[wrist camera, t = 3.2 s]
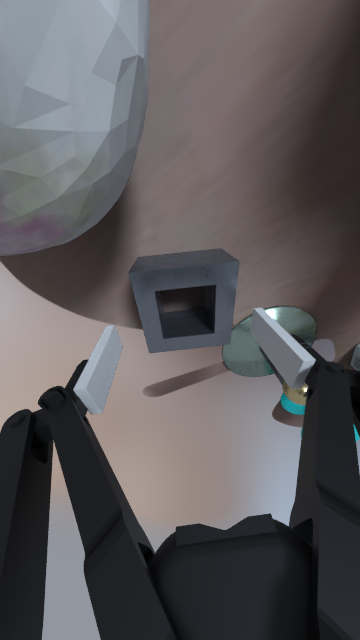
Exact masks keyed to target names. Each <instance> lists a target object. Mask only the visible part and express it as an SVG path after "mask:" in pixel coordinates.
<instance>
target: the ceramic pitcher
mask: <svg viewBox="0 0 360 640" xmlns="http://www.w3.org/2000/svg"><path fill="white" fill-rule="evenodd" d="M149 19H150V9H149V0H0V256H7V255H18V254H25V253H31V252H37V251H40V250H43V249H46V248H50V247H54V246H58V245H62V244H65V243H67V242H69V241H71V240H73V239H75V238H77V237H78V236H80V235H81V234H83V233H84V232H86V231H87V230H89V229H90V228H92V227H93V226H95V225H96V224H98V222H99V221H100V220H101V219H102V218H103V217H104V216H105V215H106V214H107V213H108V212H109V210H110V209H111V208H112V207H113V205H114V204H115V203H116V202H117V200H118V199H119V197H120V196H121V194H122V192H123V190H124V188H125V186H126V184H127V182H128V179H129V177H130V175H131V172H132V168H133V165H134V161H135V157H136V153H137V149H138V145H139V142H140V138H141V134H142V131H143V126H144V119H145V113H146V107H147V101H148V71H149Z"/></svg>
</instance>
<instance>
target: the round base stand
mask: <svg viewBox="0 0 360 640" xmlns="http://www.w3.org/2000/svg"><path fill="white" fill-rule="evenodd" d="M264 310H265V311H266V312H267V313H268V314H269V315H270V316H271V317H272V318H273V319H274V320H275V321H276V322H277V323H278V324H279V325H280V326H281V327H282V328H283V329H284V330H285V331H287V332H288V333H289V334H290V335H292V334H295V335H297V336H298V337H300V338H302V339H303V340H304V341H305V342H306V344H308V345H309V346H310V347H311V346H312V344H313V342H314V340H315V337H316V330H317V328H316V323H315V321H314V319H313V318H312V316H311V315H309V314H308V313H307V312H305V311H304V310H302V309H300V308H297V307H293V306H275V307H270V308H266V309H264ZM252 317H253V314H251V315H249V316H248V317H246V318H245V319H243V320H242V321H241V322H239V323H238V324H237V325H236V326H235V327H234V328H233V329H232V333H231V343H230V344H229V345H223V348H222V356H223V360H224V363H225V364H226V366H227V367H228V368H229V369H230V370H231V371H233V372H234V373H236V374H239V375H242V376H247V377H260V376H266V375H271V374H274V373H275V375H276V376H277V378H278V379H279V381H280V382H281V384H282V385H283V391H284V394H285V395H286V397H287V398H288V399H289V400H290V401H292V402H293V403H295V404H298V405H305V404H306V397H303V396H304V394H305V392H306V391H307V389H308V385H307V384H306V383H305V382H304V384H303V386H302V388H296V389H291V388H290V387H289V386H288V384H287V383H286V382H285V380H284V379H283V377H282V376H281V375H280V373H279V372H278V370H277V369H276V368H275V366H274V365H273V363H272V362H271V361H270V359H269V358H268V357H267V355H266V354H265V352H264V351H263V350H262V348H261V347H260V345H259V344H258V343H257V341H256V340H255V338H254V337H253V336H252V334H251V333H250V328H251V322H252Z"/></svg>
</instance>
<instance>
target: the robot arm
mask: <svg viewBox="0 0 360 640" xmlns="http://www.w3.org/2000/svg"><path fill="white" fill-rule="evenodd" d="M250 333H251V334H252V336H253V337H254V338H255V340H256V341H257V343H258V344H259V345H260V347H261V348H262V350H263V351H264V352H265V354H266V355H267V357H268V358H269V359H270V361H271V362H272V363H273V365H274V366H275V368H276V369H277V370H278V372H279V373H280V375H281V376H282V377H283V379H284V380H285V382H286V383H287V384H288V386H289V387H290V388H291V389H296V388H302V386H303V384H304V382H305V383H306V384H307V385H308V389H307V391H306V392H305V394H304V396H303V397H306V404H305V413H304V422H303V431H302V440H301V450H300V459H299V468H298V477H297V487H296V497H295V502H294V505H293V508H292V511H291V516H290V522H289V526H287V525H285V524H283V523H281V522H279V521H277V520H274V519H273V518H272V516H271V514H264V515H257V516H250V517H247V518H245V519H243V520H242V521H240V522H239V523H237V524H236V525H234V526H232V527H231V528H229V529H227V530H221V529H217V528H213V527H210V526H206V525H203V524H192V525H185V526H178V527H176V532H174V533H173V534H171V535H170V536H169V537H168V538H167V539H166V540H165V541H164V542H163V543H162V544H161V546H160V547H159V549H158V550H157V551H156V553H155V552H154V550H153V548H152V546H151V544H150V542H149V540H148V538H147V536H146V534H145V532H144V531H143V529H142V528H141V526H140V524H139V523H138V521H137V519H136V517H135V515H134V513H133V511H132V509H131V507H130V505H129V503H128V501H127V499H126V497H125V495H124V492H123V490H122V489H121V486H120V484H119V482H118V480H117V478H116V476H115V474H114V472H113V470H112V468H111V466H110V464H109V462H108V460H107V458H106V456H105V454H104V452H103V450H102V448H101V446H100V444H99V442H98V440H97V438H96V435H95V434H94V432H93V429H92V427H91V425H90V424H89V421H88V419H87V418H86V416H85V415H86V413H87V410H88V411H89V412H90V414H98V413H102V412H103V409H104V406H105V402H106V399H107V396H108V393H109V389H110V386H111V383H112V380H113V377H114V374H115V370H116V367H117V364H118V361H119V358H120V354H121V351H122V348H123V347H122V344H121V341H120V338H119V336H118V333H117V331H116V328H115V325H111V326H106V328H105V330H104V331H103V333H102V336H101V337H100V339H99V341H98V343H97V345H96V347H95V349H94V351H93V353H92V355H91V357H90V359H88V360H83V361H82V362H81V363H80V364H79V365H78V366H77V368H76V370H75V372H74V373H73V375H72V377H71V378H70V380H69V382H68V384H67V385H66V387H65V389H64V388H63V387H62V386H56V387H53V388H50V389H49V390H47V391H46V392H44V394H43V395H42V396H41V397H40V399H39V400H38V405H40V407H41V408H42V409H40V410H38V411H35V412H33V413H32V412H31V411H30V410H29V409H24V410H21V411H18V412H16V413H15V414H13V415H12V416H11V417H9V418H8V419H7V421H6V422H5V423H4V425H3V427H2V429H1V433H0V640H42V629H43V616H44V599H45V581H46V563H47V545H48V528H49V510H50V492H51V475H52V457H53V440H54V443H55V447H56V450H57V454H58V457H59V461H60V464H61V468H62V471H63V475H64V479H65V482H66V486H67V489H68V493H69V497H70V500H71V503H72V507H73V511H74V514H75V518H76V522H77V525H78V529H79V532H80V536H81V540H82V543H83V547H84V551H85V560H84V574H85V580H86V584H87V587H88V592H89V596H90V599H91V603H92V607H93V611H94V615H95V618H96V623H97V627H98V630H99V634H100V638H101V640H360V474H359V465H358V457H357V448H356V439H355V430H354V425H355V428H356V430H357V433H358V435H359V437H360V371H353V370H346V369H344V368H343V367H342V366H340V365H339V364H336V363H334V362H328V361H326V360H325V359H324V358H322V357H321V356H320V355H319V354H318V353H317V352H316V351H315V350H314V349H313V348H311V347H310V346H309V345H308V344H306V342H305V341H304V340H303V339H302V338H300V337H298V336H297V335H295V334H292V335H290V334H289V333H288V332H287V331H285V330H284V329H283V328H282V327H281V326H280V325H279V324H278V323H277V322H276V321H275V320H274V319H273V318H272V317H271V316H270V315H269V314H268V313H267V312H266V311H265V310H264V309H263V308H256V309H254V311H253V317H252V322H251V328H250Z"/></svg>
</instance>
